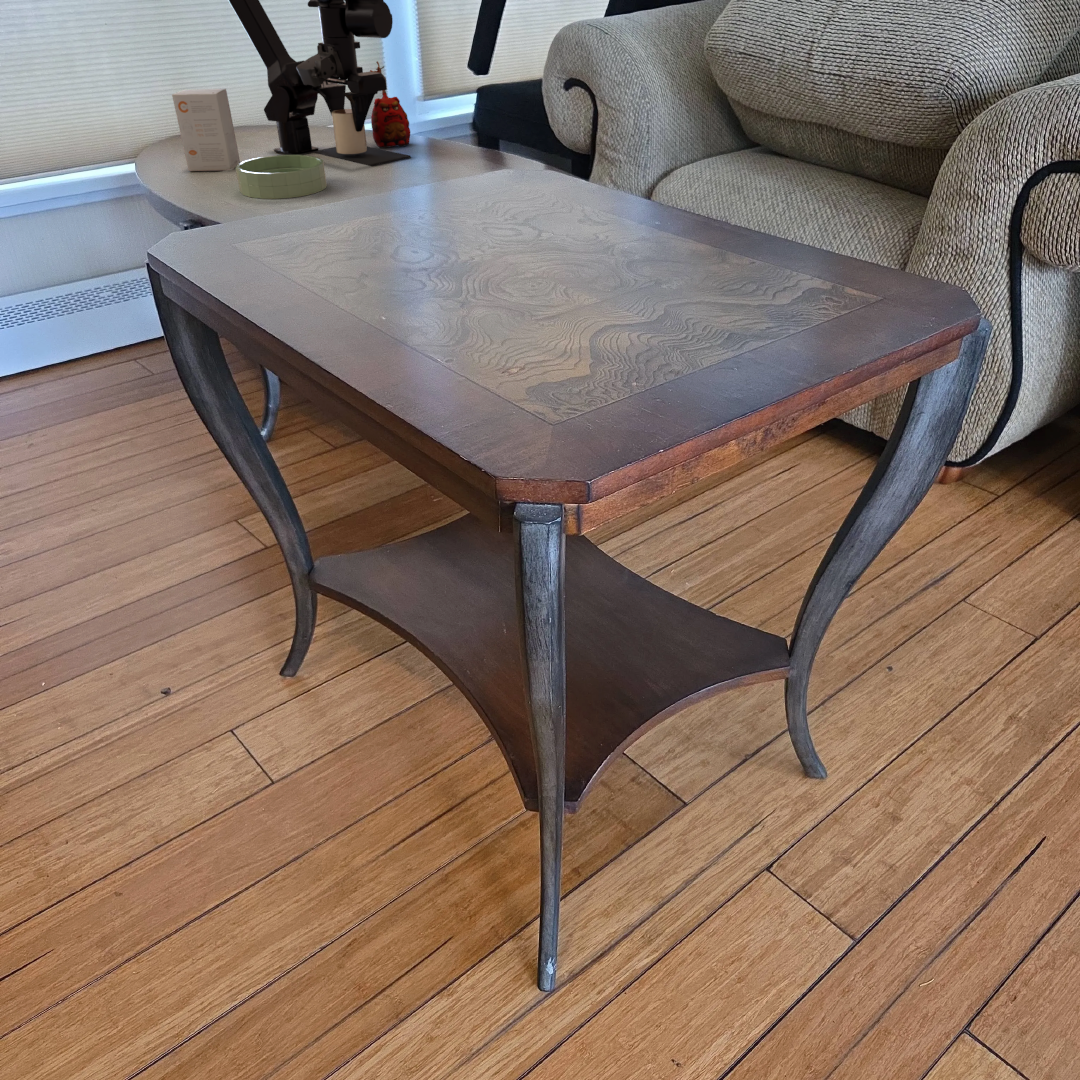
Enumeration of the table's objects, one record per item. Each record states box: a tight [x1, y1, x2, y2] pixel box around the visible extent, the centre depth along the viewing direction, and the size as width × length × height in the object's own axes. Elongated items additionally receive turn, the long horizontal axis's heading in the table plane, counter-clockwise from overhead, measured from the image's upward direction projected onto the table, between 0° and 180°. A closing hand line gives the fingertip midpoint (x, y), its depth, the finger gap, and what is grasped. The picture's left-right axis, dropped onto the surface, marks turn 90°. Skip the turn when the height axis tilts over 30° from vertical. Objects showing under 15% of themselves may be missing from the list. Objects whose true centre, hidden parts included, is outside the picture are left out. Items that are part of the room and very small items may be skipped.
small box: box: [171, 88, 241, 172], centre depth 171 cm, size 8×6×13 cm
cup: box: [331, 108, 368, 154], centre depth 177 cm, size 6×6×7 cm
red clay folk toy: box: [369, 60, 411, 149], centre depth 185 cm, size 8×7×15 cm
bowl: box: [235, 154, 328, 200], centre depth 157 cm, size 14×14×4 cm
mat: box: [298, 146, 412, 167], centre depth 180 cm, size 18×14×1 cm
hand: (349, 129), depth 177 cm, fingers closed on cup, 6 cm apart
